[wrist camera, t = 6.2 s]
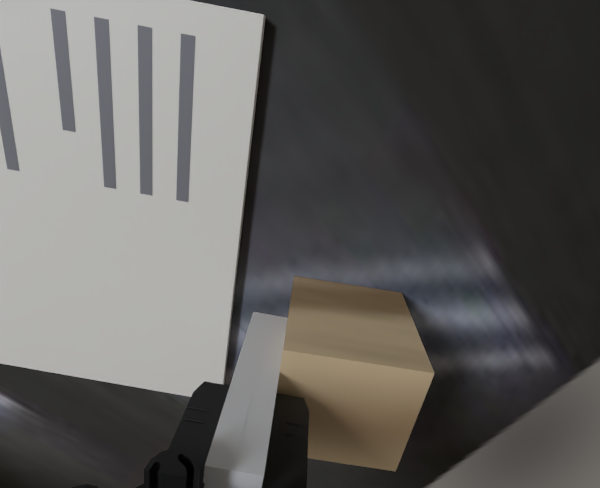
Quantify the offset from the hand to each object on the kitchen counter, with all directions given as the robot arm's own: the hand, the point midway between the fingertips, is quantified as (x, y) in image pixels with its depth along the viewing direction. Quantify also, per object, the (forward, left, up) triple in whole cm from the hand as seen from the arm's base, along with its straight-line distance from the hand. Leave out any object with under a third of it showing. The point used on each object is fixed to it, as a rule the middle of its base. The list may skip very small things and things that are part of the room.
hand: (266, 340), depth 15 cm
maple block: (0, +3, -2) cm, 4 cm away
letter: (-3, -9, -2) cm, 10 cm away
